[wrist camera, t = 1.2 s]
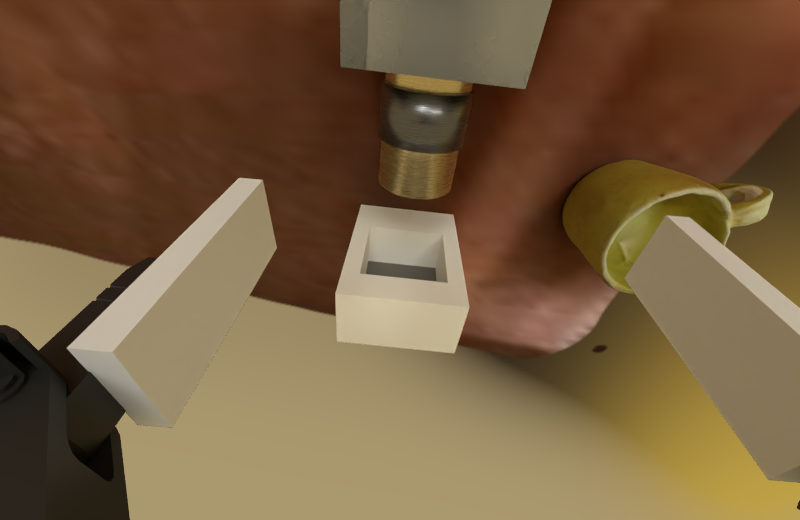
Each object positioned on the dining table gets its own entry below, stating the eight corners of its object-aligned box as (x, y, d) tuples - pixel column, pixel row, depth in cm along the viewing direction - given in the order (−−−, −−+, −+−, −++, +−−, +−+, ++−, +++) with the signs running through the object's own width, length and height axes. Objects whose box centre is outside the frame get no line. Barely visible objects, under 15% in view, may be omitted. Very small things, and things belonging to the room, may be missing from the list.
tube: (403, -212, 14) (397, -305, 10) (524, -195, 15) (569, -279, 10) (379, 163, 25) (371, 195, 20) (450, 171, 25) (457, 205, 21)
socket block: (361, 204, 32) (335, 293, 22) (453, 214, 32) (469, 307, 22) (359, 246, 35) (336, 341, 25) (444, 255, 35) (454, 353, 25)
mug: (549, 274, 34) (620, 320, 24) (540, 173, 31) (617, 181, 21) (665, 246, 34) (780, 281, 24) (668, 143, 31) (801, 136, 21)
